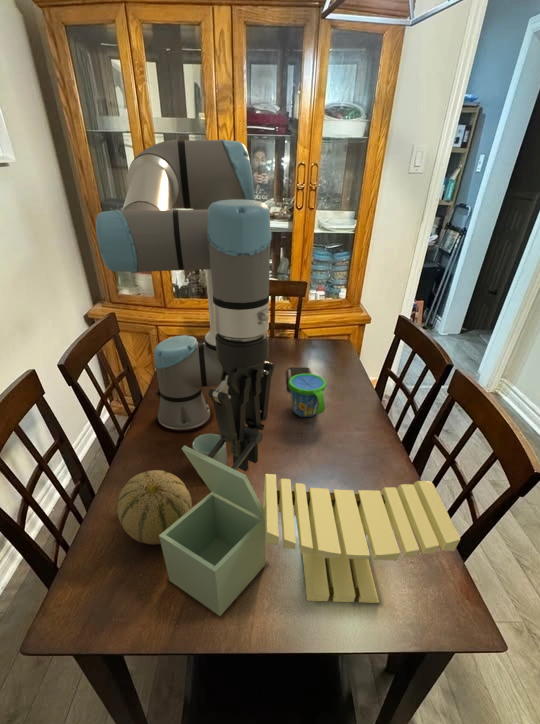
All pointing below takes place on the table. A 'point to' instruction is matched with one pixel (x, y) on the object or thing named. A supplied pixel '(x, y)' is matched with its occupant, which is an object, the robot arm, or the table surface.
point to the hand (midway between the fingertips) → (245, 463)
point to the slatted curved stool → (354, 531)
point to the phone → (296, 372)
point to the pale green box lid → (228, 474)
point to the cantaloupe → (152, 505)
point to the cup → (210, 447)
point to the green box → (214, 551)
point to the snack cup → (307, 394)
